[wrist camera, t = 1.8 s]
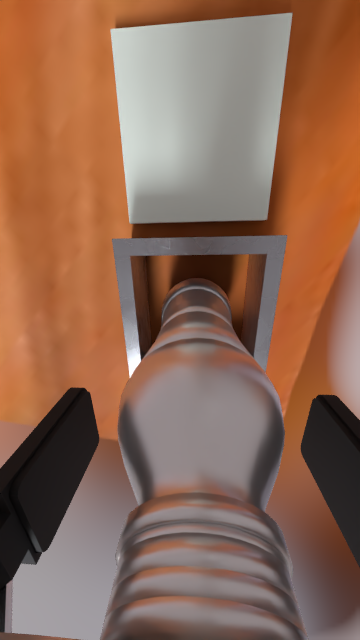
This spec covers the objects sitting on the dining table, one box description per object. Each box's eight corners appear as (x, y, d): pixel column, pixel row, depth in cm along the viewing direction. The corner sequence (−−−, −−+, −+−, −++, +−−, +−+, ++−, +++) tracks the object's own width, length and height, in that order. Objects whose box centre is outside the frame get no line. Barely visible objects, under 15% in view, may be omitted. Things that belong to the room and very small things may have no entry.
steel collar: (131, 238, 20) (112, 238, 15) (264, 236, 19) (287, 235, 14) (143, 359, 25) (131, 387, 20) (249, 361, 24) (262, 391, 19)
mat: (114, 39, 15) (110, 29, 14) (287, 24, 14) (292, 12, 13) (132, 223, 19) (129, 223, 18) (264, 220, 18) (267, 219, 18)
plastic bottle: (228, 272, 20) (606, 649, 2) (225, 334, 23) (365, 764, 4) (163, 274, 21) (-105, 582, 2) (167, 335, 23) (60, 721, 5)
